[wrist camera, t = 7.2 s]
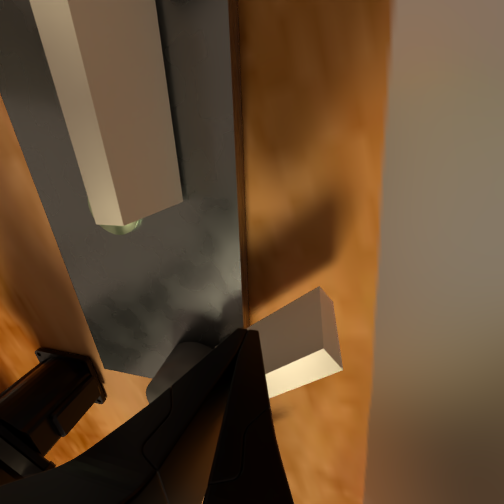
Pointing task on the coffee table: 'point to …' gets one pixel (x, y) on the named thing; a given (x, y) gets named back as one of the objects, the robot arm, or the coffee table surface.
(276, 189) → the coffee table surface
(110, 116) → the knob
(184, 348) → the knob
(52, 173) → the plate
